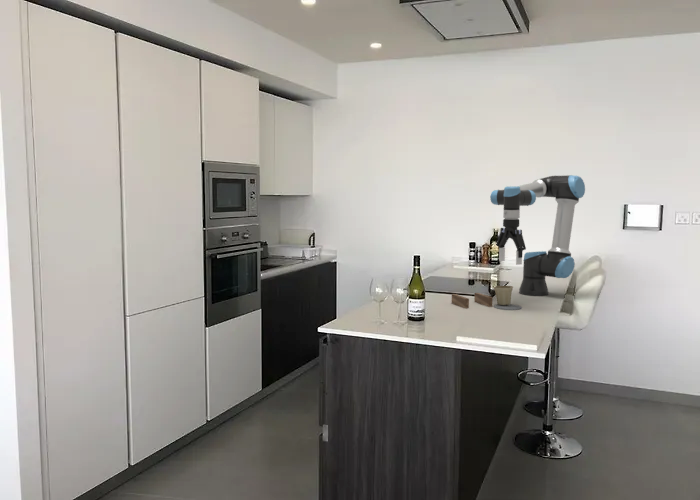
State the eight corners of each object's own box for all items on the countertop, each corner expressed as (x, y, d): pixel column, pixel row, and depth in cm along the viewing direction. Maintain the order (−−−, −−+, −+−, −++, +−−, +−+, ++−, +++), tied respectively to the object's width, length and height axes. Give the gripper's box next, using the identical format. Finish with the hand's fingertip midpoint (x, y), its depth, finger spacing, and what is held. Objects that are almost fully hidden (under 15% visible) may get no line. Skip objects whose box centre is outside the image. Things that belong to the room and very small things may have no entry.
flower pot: (514, 305, 283) (514, 287, 283) (494, 305, 284) (494, 288, 284) (512, 302, 292) (512, 285, 292) (493, 303, 294) (492, 285, 293)
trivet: (511, 304, 293) (511, 303, 293) (527, 309, 281) (527, 308, 280) (488, 305, 288) (488, 304, 288) (503, 310, 276) (503, 309, 276)
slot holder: (477, 301, 298) (478, 292, 298) (492, 306, 286) (492, 297, 286) (451, 303, 293) (451, 294, 293) (465, 308, 281) (465, 298, 281)
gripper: (489, 217, 294) (488, 259, 296) (520, 220, 270) (519, 266, 273) (502, 217, 296) (501, 259, 299) (534, 220, 273) (533, 265, 275)
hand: (510, 262), depth 286 cm, fingers open, 13 cm apart
